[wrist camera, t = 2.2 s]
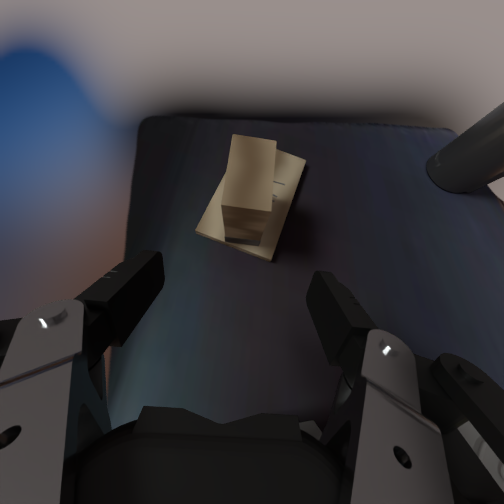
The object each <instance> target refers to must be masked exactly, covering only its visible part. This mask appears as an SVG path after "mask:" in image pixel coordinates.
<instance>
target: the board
mask: <svg viewBox="0 0 504 504" xmlns="http://www.w3.org/2000/svg"><path fill="white" fill-rule="evenodd" d="M305 162H306V160H304V159H301V158H298V157H296V156H293V155H290V154H288V153H285V152H282V151H280V150H277V149H276V153H275V167H274V181H273V195H272V209H271V214H270V216H269V219H268V221H267V224H266V227H265V229H264V232H263V234H262V237H261V242H260V244H259V246H253V245H245V244H237V243H229V242H225V238H224V237H225V231H224V224H223V217H222V209H221V201H222V195H223V189H224V183H225V178H226V173H225V175H224V177H223V179H222V181H221V183H220V185H219V186H218V188H217V190H216V192H215V194H214V196H213V198H212V200H211V202H210V204H209V205H208V207H207V209H206V211H205V213H204V215H203V217H202V219H201V221H200V223H199V224H198V226H197V228H196V230H195V231H196V233H197V234H199V235H202V236H204V237H207V238H209V239H212V240H214V241H217V242H220V243H222V244H225V245H227V246H230V247H233V248H235V249H238V250H240V251H243V252H245V253H248V254H251V255H253V256H256V257H258V258H261V259H264V260H266V261H269V262H270V261H271V259H272V256H273V253H274V250H275V248H276V245H277V242H278V239H279V236H280V233H281V231H282V228H283V225H284V222H285V219H286V216H287V213H288V211H289V208H290V205H291V202H292V199H293V196H294V194H295V191H296V188H297V185H298V182H299V179H300V176H301V174H302V171H303V168H304V165H305ZM226 172H227V171H226Z"/></svg>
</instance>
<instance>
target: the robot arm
mask: <svg viewBox="0 0 504 504" xmlns="http://www.w3.org/2000/svg"><path fill="white" fill-rule="evenodd" d="M426 166H427V172H428V174H429V176H430V178H431V179H432V180H433V181H434V182H435V183H436V184H437V185H438V186H439V187H441V188H443V189H444V190H446V191H449V192H453V193H460V192H468V193H471V192H473V191H475V190H477V189H479V188H481V187H483V186H485V185H487V184H489V183H491V182H493V181H495V180H497V179H499V178H502V177H504V103H502V104H501V105H499V106H498V107H497V108H495V109H494V110H493V111H491V112H490V113H489V114H487V115H486V116H485V117H483V118H482V119H481V120H480V121H478V122H477V123H476V124H474V125H473V126H472V127H470V128H469V129H468V130H466V131H465V132H464V133H462V134H461V135H460V136H458V137H457V138H456V139H454V140H453V141H452V142H450V143H449V144H448V145H447V146H445V147H444V148H443V149H441V150H440V151H438V152H437V153H436V154H435V155H433V156H432V157H431V158H430V159H429V160H428V161H427V165H426ZM164 281H165V275H164V266H163V257H162V253H161V252H157V251H149V250H143V251H141V252H140V253H139V254H138V255H136V256H135V257H134V258H133V259H132V258H131V259H128V260H126V261H124V262H121V263H119V264H118V265H117V266H115V267H114V268H113V269H112V270H111V271H110V272H108V273H107V274H105V275H104V276H103V277H101V278H100V279H99V280H97V281H96V282H95V283H94V284H92V285H91V286H90V287H89V288H87V289H86V290H85V291H83V292H82V293H81V294H80V295H78V296H77V297H76V298H75V299H73V300H72V299H68V300H60V301H55V302H52V303H49V304H46V305H44V306H41V307H39V308H37V309H35V310H33V311H32V312H30V313H29V314H27V315H26V316H25V317H24V318H18V319H10V320H2V321H0V504H504V492H503V491H502V489H501V488H500V486H499V485H498V484H497V482H496V481H495V480H494V478H493V477H492V475H491V474H490V473H489V471H488V470H487V469H486V467H485V466H484V464H483V463H482V462H481V460H480V459H479V457H478V456H477V455H476V453H475V452H474V451H473V449H472V448H471V446H470V445H469V444H468V442H467V441H466V440H465V438H464V437H463V435H462V434H461V433H460V431H459V430H458V429H457V428H458V427H460V426H461V425H463V424H465V423H466V422H468V421H470V423H471V424H472V425H473V427H474V428H475V429H476V430H477V432H478V433H479V434H480V435H481V437H482V438H483V439H484V440H485V442H486V443H487V444H488V446H489V447H490V448H491V449H492V451H493V452H494V453H495V454H496V456H497V457H498V458H499V459H500V461H501V462H502V463H503V464H504V390H503V389H502V388H501V387H500V386H499V385H498V384H496V383H495V382H494V381H493V380H492V379H491V378H490V377H489V376H488V375H487V374H486V373H484V372H483V371H482V370H481V369H479V368H478V367H477V366H475V365H474V364H472V363H470V362H469V361H467V360H465V359H463V358H461V357H459V356H456V355H453V354H449V353H443V354H441V355H440V356H439V357H438V358H437V359H436V360H435V361H432V360H430V359H427V358H424V357H421V356H418V355H416V354H413V353H412V351H411V350H410V349H409V347H408V346H407V345H406V344H405V343H403V342H402V341H401V340H400V339H399V338H397V337H396V336H394V335H392V334H390V333H388V332H386V331H383V330H379V329H378V328H377V326H376V325H375V324H374V322H373V321H372V320H371V318H370V317H369V316H368V314H367V313H366V312H365V310H364V309H363V308H362V306H361V305H360V304H359V302H358V301H357V300H356V299H355V297H354V295H353V294H352V293H351V291H350V290H349V289H348V288H346V287H345V286H344V285H343V284H341V283H339V282H338V281H337V279H336V278H335V276H334V275H333V274H332V273H331V272H324V271H315V273H314V275H313V278H312V280H311V283H310V286H309V289H308V291H307V295H306V303H307V306H308V309H309V312H310V314H311V317H312V320H313V322H314V325H315V327H316V330H317V333H318V335H319V338H320V341H321V343H322V346H323V349H324V351H325V354H326V356H327V359H328V362H329V364H330V365H331V366H341V368H342V370H343V373H342V374H341V376H340V379H339V383H338V387H337V390H336V394H335V397H334V401H333V404H332V408H331V412H330V415H329V418H328V421H327V424H326V426H325V428H324V430H323V432H322V435H321V437H320V440H317V439H316V438H315V437H313V436H312V435H310V434H308V433H307V432H305V431H303V430H301V429H300V426H299V420H298V416H295V415H280V414H264V413H261V414H257V415H254V416H250V417H247V418H243V419H240V420H236V421H233V422H229V423H226V424H219V423H216V422H213V421H211V420H209V419H207V418H204V417H202V416H200V415H197V414H195V413H193V412H190V411H188V410H186V409H183V408H169V407H153V406H143V408H142V411H141V413H140V415H139V417H138V420H134V421H131V422H129V423H126V424H124V425H121V426H119V427H117V428H115V429H113V430H112V427H111V421H110V417H109V413H108V408H107V396H106V377H105V360H104V355H103V353H104V352H105V350H106V349H107V348H108V346H114V347H122V346H123V344H124V343H125V341H126V340H127V338H128V337H129V336H130V334H131V333H132V331H133V330H134V328H135V327H136V325H137V324H138V323H139V321H140V320H141V318H142V317H143V315H144V314H145V313H146V311H147V310H148V308H149V307H150V305H151V304H152V302H153V301H154V300H155V298H156V297H157V295H158V294H159V292H160V291H161V289H162V288H163V285H164Z"/></svg>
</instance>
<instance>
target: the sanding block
mask: <svg viewBox="0 0 504 504" xmlns="http://www.w3.org/2000/svg"><path fill="white" fill-rule="evenodd" d="M275 153H276V141H273V140H267V139H261V138H254V137H248V136H242V135H236V134H233V136H232V142H231V148H230V154H229V160H228V166H227V172H226V178H225V183H224V189H223V195H222V201H221V209H222V217H223V224H224V231H225V237H224V238H225V242H229V243H237V244H245V245H253V246H259V244H260V242H261V237H262V234H263V232H264V229H265V227H266V224H267V221H268V219H269V216H270V214H271V209H272V195H273V181H274V167H275Z"/></svg>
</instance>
